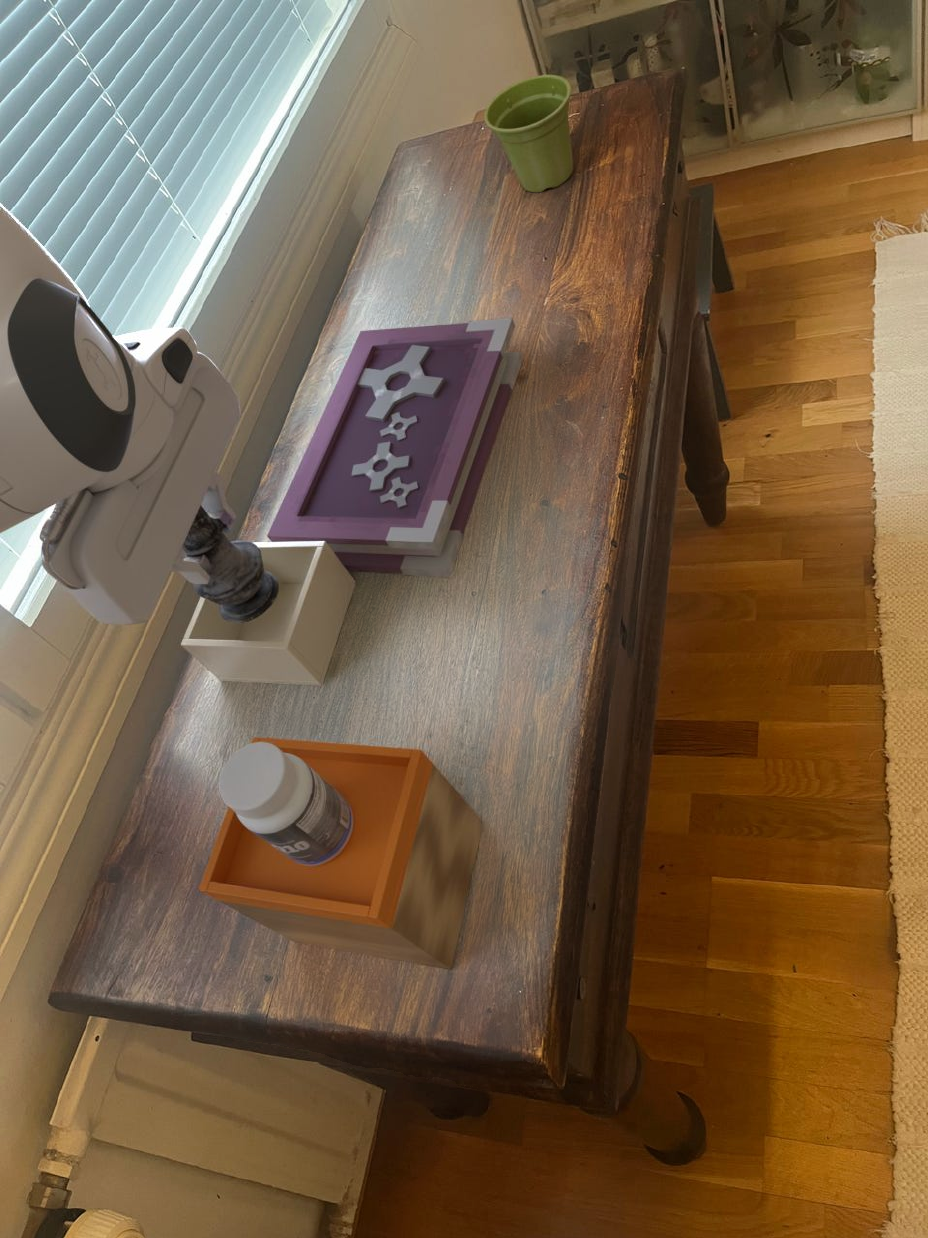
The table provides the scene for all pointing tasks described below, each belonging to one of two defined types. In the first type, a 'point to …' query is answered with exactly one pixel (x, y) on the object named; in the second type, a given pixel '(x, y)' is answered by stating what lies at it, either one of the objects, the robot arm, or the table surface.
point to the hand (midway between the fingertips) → (215, 550)
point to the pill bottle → (286, 803)
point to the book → (403, 447)
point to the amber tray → (370, 862)
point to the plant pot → (535, 130)
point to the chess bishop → (231, 571)
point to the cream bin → (279, 621)
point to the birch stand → (406, 892)
